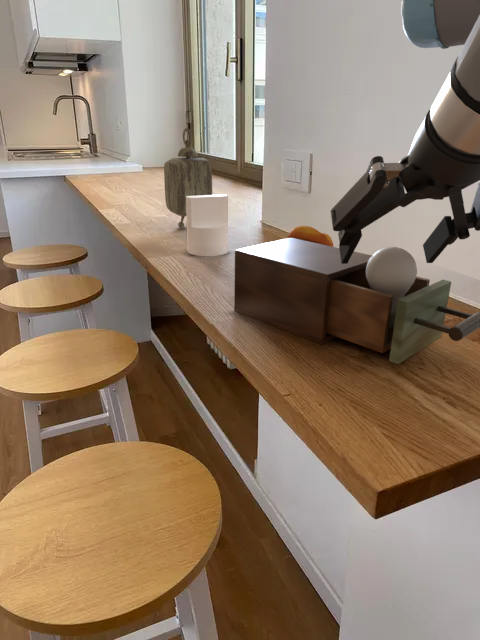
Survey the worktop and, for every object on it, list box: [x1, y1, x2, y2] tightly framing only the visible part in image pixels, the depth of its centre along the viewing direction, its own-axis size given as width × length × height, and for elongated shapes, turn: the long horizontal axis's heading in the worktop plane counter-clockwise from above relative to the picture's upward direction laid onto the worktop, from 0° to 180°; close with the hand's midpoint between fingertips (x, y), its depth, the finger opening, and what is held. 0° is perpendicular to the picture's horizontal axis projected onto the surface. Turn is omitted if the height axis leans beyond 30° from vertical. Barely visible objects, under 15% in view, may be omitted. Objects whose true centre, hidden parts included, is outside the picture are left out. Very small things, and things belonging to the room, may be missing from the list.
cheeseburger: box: [286, 225, 335, 247], centre depth 94 cm, size 10×11×10 cm
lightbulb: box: [366, 246, 418, 328], centre depth 63 cm, size 6×6×11 cm
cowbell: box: [163, 127, 213, 229], centre depth 129 cm, size 14×9×25 cm, turn 22°
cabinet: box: [233, 237, 373, 346], centre depth 73 cm, size 17×13×10 cm
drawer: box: [326, 268, 480, 365], centre depth 63 cm, size 21×11×8 cm, turn 44°
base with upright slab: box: [186, 193, 229, 257], centre depth 108 cm, size 9×9×12 cm
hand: (385, 254), depth 64 cm, fingers open, 10 cm apart
